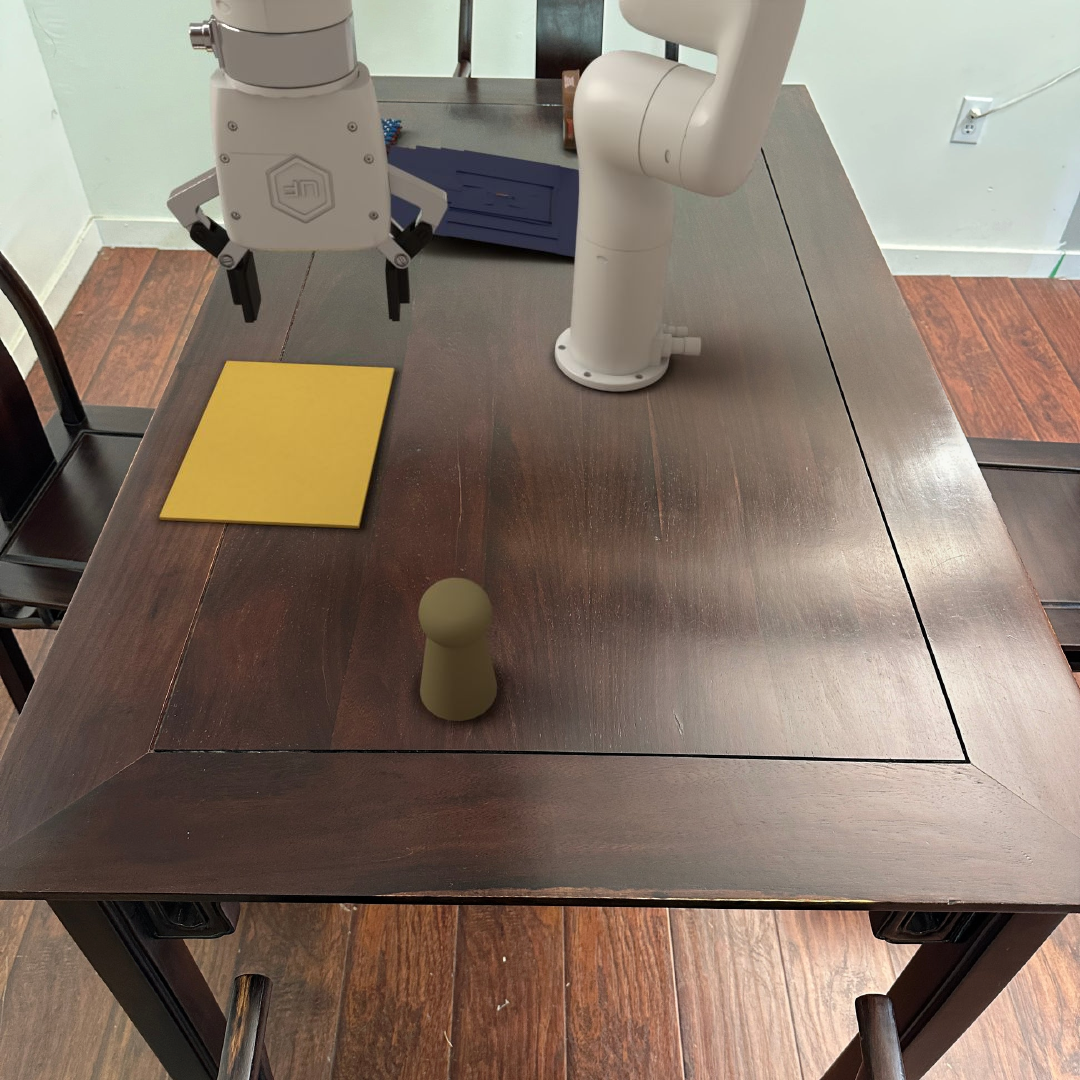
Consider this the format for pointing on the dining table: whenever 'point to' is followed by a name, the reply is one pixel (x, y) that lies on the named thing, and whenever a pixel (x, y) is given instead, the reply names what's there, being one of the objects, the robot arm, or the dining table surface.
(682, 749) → the dining table surface
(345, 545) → the dining table surface
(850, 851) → the dining table surface
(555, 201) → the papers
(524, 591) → the dining table surface
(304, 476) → the board
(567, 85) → the tin
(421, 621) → the tan pawn
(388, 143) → the woven mat
